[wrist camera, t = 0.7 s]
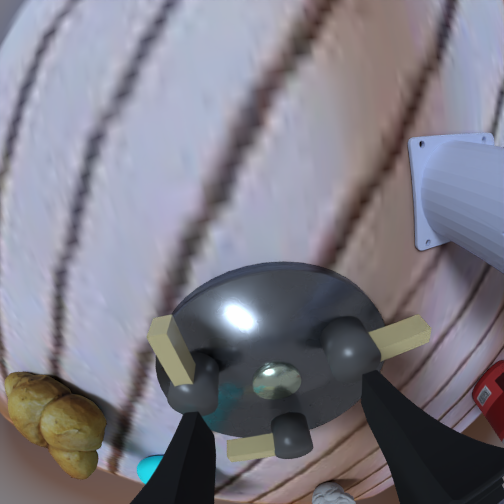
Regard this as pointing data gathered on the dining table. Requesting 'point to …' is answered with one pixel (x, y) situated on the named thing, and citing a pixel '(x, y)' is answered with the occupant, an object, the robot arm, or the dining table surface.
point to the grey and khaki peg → (184, 369)
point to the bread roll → (57, 421)
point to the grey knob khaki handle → (275, 440)
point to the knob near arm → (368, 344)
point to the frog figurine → (331, 494)
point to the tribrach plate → (271, 343)
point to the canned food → (492, 397)
